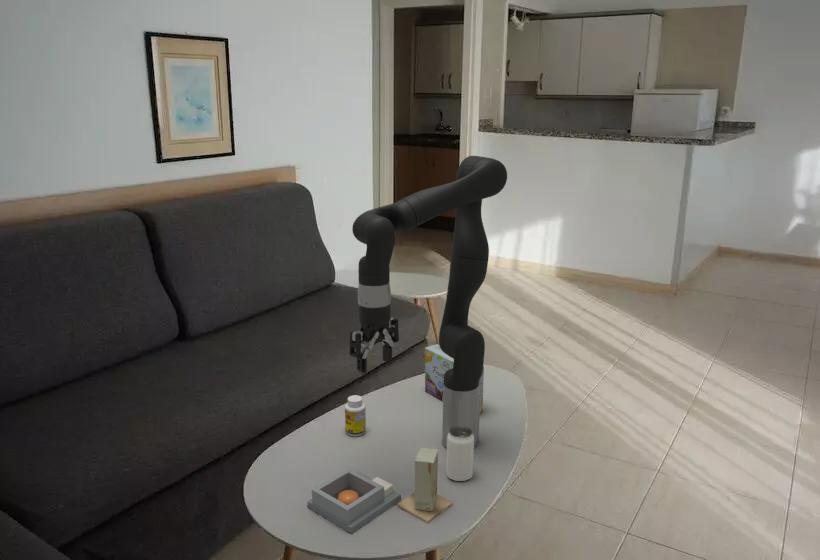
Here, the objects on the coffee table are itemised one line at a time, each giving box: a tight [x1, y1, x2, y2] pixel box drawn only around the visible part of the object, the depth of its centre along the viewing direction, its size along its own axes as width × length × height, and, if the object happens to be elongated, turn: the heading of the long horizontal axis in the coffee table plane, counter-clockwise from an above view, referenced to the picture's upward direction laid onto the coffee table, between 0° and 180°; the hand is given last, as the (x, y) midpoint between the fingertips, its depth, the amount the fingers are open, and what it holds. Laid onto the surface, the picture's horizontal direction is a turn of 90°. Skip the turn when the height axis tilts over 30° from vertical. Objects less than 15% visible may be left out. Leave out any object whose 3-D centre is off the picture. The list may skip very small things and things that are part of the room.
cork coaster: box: [396, 491, 454, 524], centre depth 151 cm, size 9×9×1 cm
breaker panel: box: [307, 467, 402, 534], centre depth 151 cm, size 16×14×5 cm
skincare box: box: [414, 447, 439, 511], centre depth 149 cm, size 6×4×12 cm
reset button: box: [337, 490, 359, 505], centre depth 150 cm, size 4×4×3 cm
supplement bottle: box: [344, 394, 367, 437], centre depth 181 cm, size 6×6×10 cm
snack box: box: [424, 343, 485, 414], centre depth 198 cm, size 21×6×15 cm, turn 38°
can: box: [446, 426, 475, 482], centre depth 161 cm, size 6×6×12 cm
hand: (375, 366), depth 157 cm, fingers open, 8 cm apart
